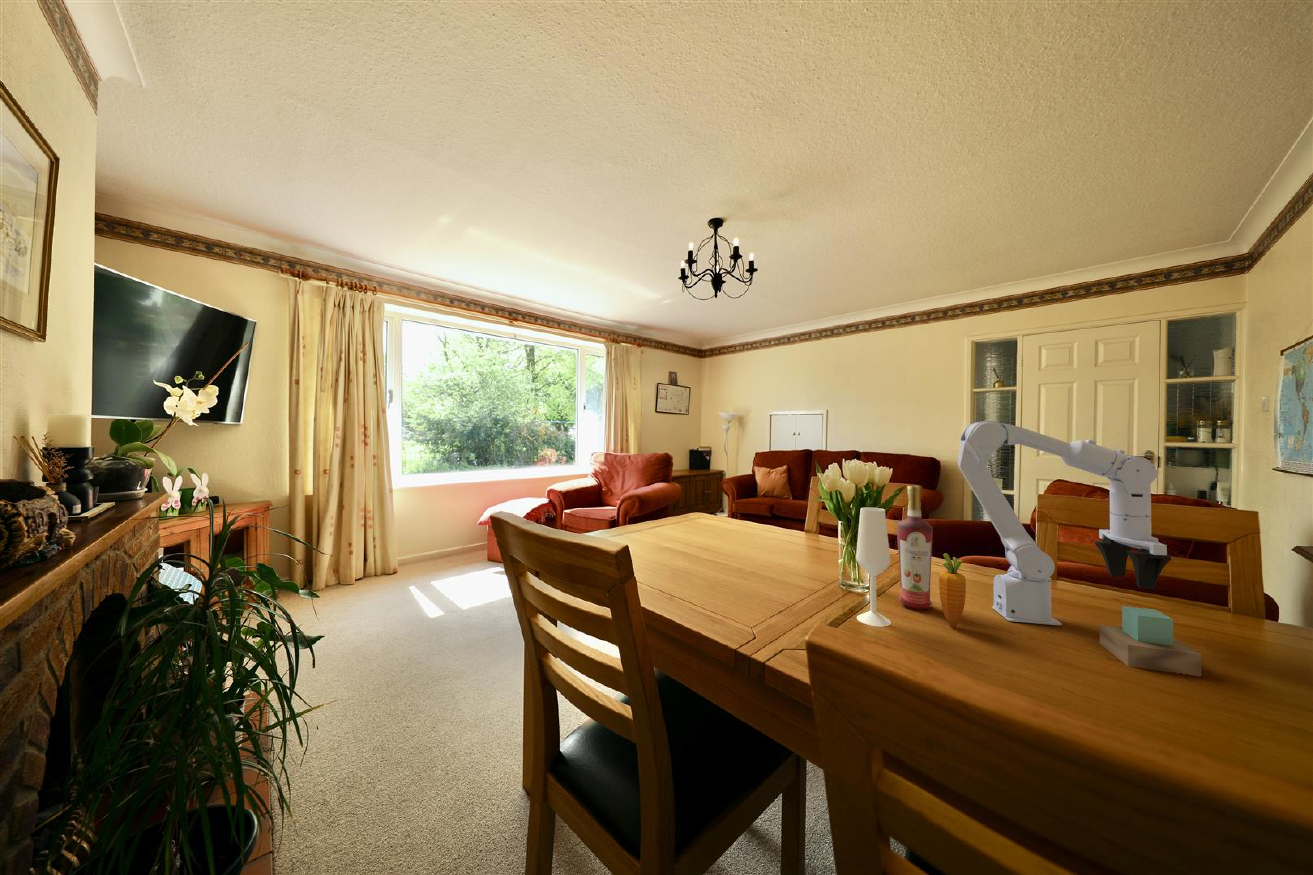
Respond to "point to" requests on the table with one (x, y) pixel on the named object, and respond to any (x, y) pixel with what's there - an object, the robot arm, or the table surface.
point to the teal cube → (1147, 625)
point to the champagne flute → (873, 557)
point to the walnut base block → (1150, 652)
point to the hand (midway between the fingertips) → (1130, 582)
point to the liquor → (914, 554)
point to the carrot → (952, 591)
